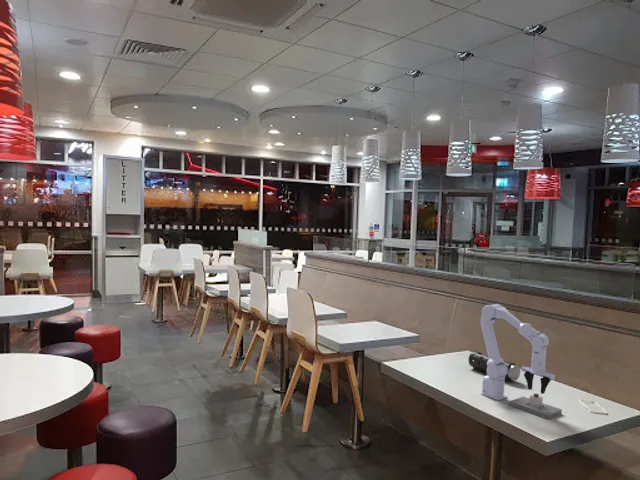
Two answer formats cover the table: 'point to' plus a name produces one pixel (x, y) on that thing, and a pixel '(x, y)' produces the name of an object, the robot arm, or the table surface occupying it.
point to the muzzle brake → (481, 365)
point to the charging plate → (543, 412)
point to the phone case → (593, 411)
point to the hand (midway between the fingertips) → (536, 391)
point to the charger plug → (535, 401)
